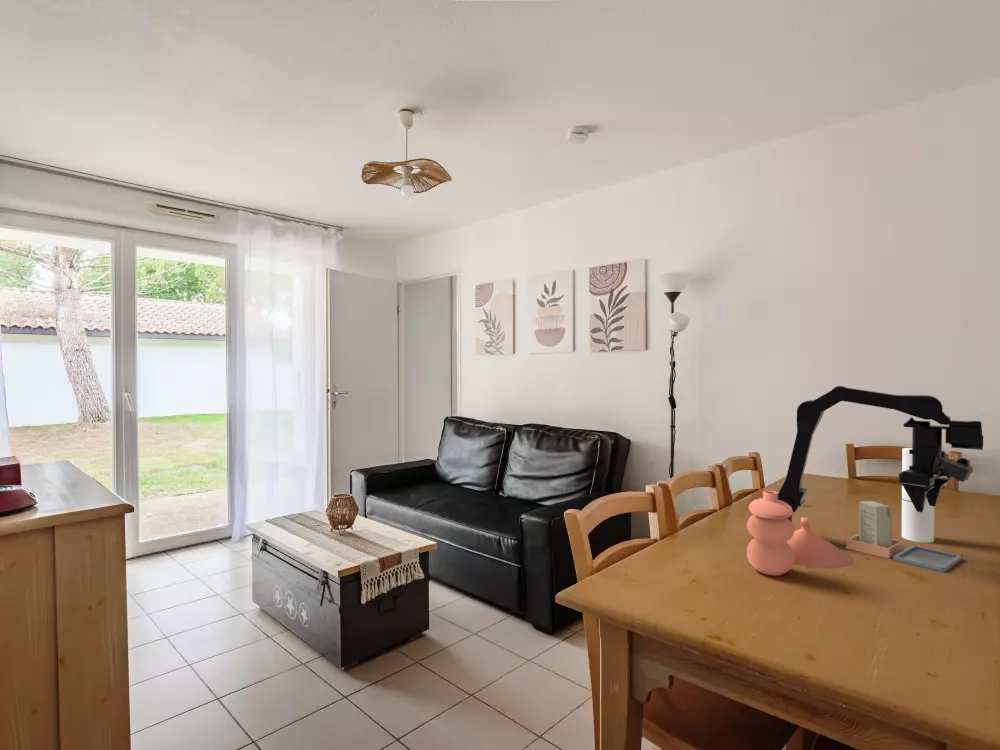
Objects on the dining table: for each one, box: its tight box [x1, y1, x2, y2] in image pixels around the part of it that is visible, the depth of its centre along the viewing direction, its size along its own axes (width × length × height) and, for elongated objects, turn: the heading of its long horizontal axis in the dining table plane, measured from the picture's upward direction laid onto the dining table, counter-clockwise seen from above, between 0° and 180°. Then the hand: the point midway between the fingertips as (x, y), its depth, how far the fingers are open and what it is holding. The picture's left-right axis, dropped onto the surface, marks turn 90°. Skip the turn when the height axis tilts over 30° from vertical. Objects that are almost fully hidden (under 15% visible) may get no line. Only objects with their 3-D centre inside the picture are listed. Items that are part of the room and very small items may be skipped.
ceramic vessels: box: [746, 490, 854, 576], centre depth 133 cm, size 35×21×19 cm, turn 129°
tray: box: [892, 544, 963, 573], centre depth 132 cm, size 14×10×1 cm
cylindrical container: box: [901, 447, 935, 544], centre depth 149 cm, size 7×7×25 cm
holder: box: [845, 533, 905, 559], centre depth 140 cm, size 10×10×2 cm
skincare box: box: [858, 500, 892, 548], centre depth 140 cm, size 6×4×12 cm
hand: (926, 508), depth 132 cm, fingers open, 9 cm apart
